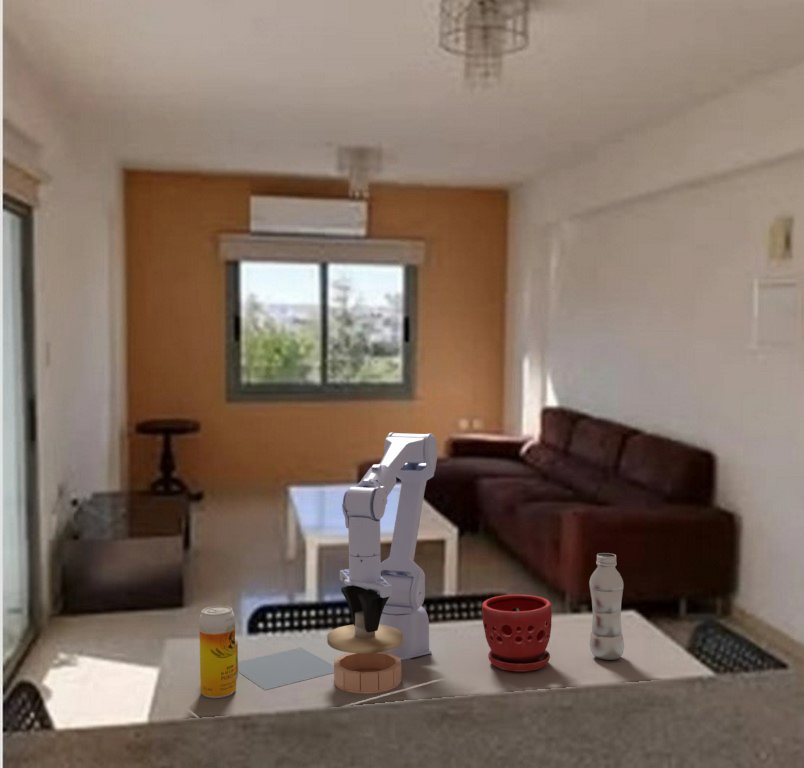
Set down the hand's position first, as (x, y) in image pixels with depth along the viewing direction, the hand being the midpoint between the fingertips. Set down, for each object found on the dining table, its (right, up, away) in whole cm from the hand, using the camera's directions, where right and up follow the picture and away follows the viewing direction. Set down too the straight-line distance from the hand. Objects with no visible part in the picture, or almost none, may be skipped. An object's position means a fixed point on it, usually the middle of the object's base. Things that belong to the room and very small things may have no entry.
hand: (365, 628), depth 163 cm
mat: (-16, -10, +7) cm, 20 cm away
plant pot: (+28, -10, +9) cm, 31 cm away
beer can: (-26, -11, -4) cm, 28 cm away
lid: (0, -2, 0) cm, 2 cm away
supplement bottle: (-26, -10, +4) cm, 28 cm away
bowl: (0, -10, 0) cm, 10 cm away
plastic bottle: (+46, -9, +12) cm, 48 cm away
